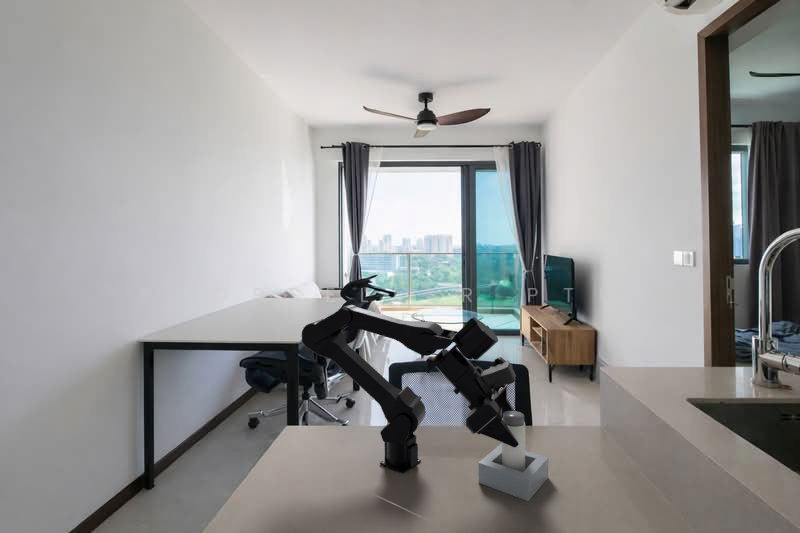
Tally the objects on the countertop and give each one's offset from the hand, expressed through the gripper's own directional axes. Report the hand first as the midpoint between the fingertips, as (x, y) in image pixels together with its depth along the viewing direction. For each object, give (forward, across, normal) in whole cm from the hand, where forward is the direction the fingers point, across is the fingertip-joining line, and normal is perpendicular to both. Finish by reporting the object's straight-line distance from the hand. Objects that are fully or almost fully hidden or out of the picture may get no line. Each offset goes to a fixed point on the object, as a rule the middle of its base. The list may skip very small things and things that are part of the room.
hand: (518, 435), depth 84 cm
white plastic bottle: (+5, 0, +7) cm, 9 cm away
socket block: (+6, 0, +7) cm, 9 cm away
